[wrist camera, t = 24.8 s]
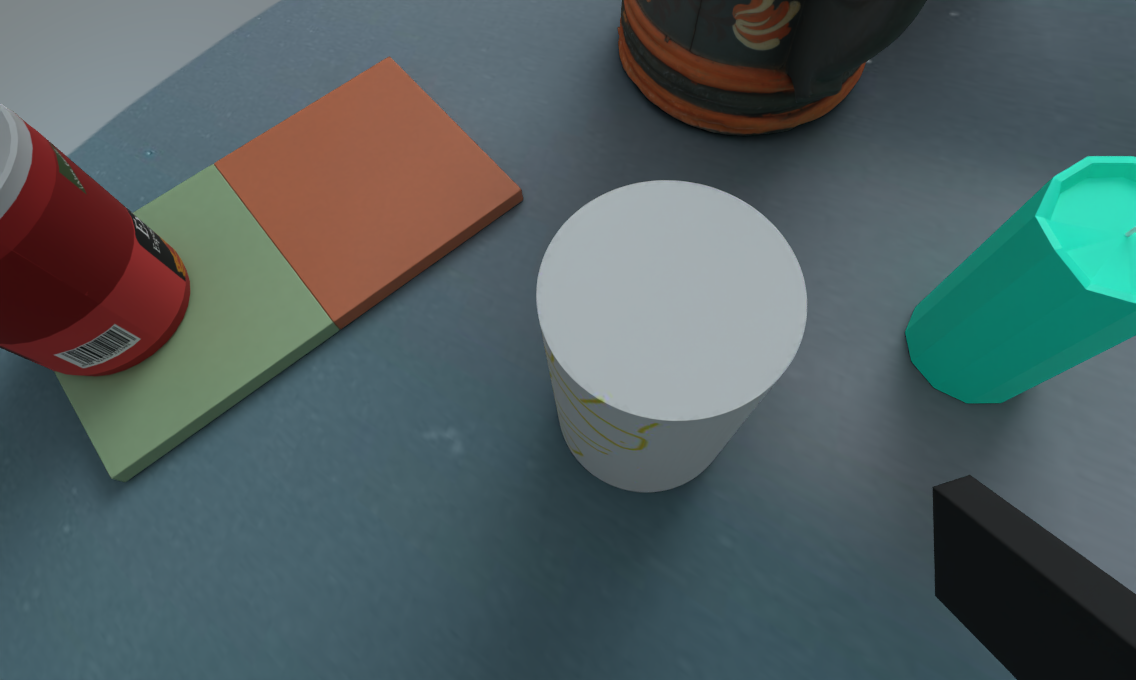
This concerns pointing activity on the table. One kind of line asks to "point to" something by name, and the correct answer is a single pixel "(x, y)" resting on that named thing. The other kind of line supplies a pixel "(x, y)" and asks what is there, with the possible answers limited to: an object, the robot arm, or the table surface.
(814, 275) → the table surface
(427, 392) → the table surface
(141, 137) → the table surface
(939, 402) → the table surface
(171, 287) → the canned food
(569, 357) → the yellow-scribbled white cylinder
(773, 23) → the tankard
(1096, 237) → the candle
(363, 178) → the board
